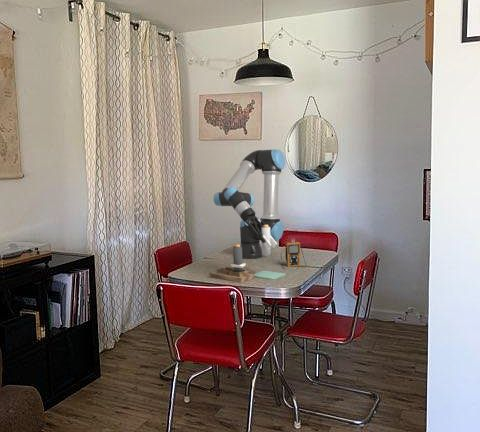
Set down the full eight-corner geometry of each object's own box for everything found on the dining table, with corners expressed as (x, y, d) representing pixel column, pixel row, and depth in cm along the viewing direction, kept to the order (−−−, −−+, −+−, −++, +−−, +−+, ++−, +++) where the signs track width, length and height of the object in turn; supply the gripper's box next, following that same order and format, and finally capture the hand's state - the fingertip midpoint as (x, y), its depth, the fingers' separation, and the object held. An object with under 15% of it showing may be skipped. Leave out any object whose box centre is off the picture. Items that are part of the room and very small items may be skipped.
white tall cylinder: (265, 253, 250) (264, 224, 249) (272, 254, 248) (271, 224, 246) (260, 255, 247) (259, 225, 245) (267, 255, 244) (266, 225, 243)
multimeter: (285, 270, 260) (284, 233, 258) (280, 266, 270) (279, 230, 268) (311, 268, 263) (311, 231, 261) (305, 264, 273) (304, 229, 270)
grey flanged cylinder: (237, 272, 249) (236, 243, 247) (249, 274, 244) (248, 244, 243) (230, 275, 245) (229, 245, 243) (242, 277, 240) (241, 246, 238)
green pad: (263, 271, 259) (263, 270, 259) (286, 274, 250) (286, 273, 250) (250, 276, 250) (250, 275, 249) (272, 279, 241) (272, 278, 241)
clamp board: (224, 273, 258) (224, 265, 258) (254, 277, 246) (254, 270, 245) (210, 277, 250) (210, 269, 249) (241, 282, 237) (240, 274, 237)
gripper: (251, 215, 262) (277, 248, 253) (231, 218, 248) (257, 253, 240) (259, 205, 258) (286, 239, 249) (238, 208, 244) (266, 244, 236)
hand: (272, 246), depth 245 cm, fingers closed on white tall cylinder, 4 cm apart
